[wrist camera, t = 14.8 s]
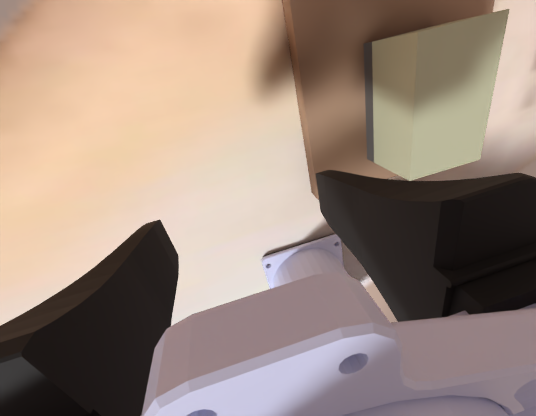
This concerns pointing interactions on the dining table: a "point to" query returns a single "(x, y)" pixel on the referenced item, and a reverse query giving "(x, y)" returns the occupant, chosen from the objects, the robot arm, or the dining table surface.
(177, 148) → the dining table surface
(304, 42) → the walnut board
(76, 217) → the dining table surface
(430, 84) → the block
